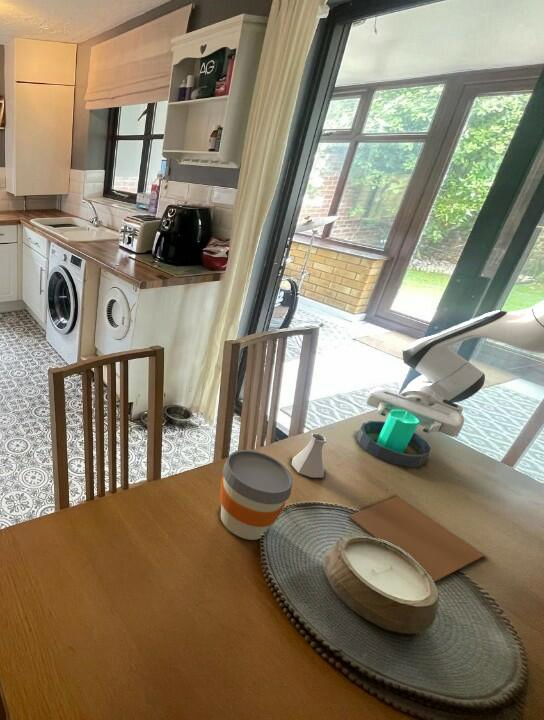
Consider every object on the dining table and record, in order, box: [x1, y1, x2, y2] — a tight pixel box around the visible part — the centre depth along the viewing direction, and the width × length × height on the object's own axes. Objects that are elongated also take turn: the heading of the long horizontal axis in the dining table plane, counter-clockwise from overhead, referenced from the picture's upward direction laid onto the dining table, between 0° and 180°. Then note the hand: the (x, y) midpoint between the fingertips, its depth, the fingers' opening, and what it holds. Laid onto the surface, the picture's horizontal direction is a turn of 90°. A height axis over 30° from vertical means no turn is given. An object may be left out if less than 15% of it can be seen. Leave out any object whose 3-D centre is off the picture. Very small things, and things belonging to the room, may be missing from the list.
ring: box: [356, 420, 432, 468], centre depth 110 cm, size 14×14×4 cm
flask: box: [291, 432, 327, 479], centre depth 102 cm, size 7×7×10 cm
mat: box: [348, 496, 485, 583], centre depth 86 cm, size 16×16×1 cm
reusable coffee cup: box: [219, 449, 294, 541], centre depth 86 cm, size 13×13×15 cm
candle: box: [376, 410, 420, 453], centre depth 108 cm, size 6×6×12 cm
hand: (404, 421), depth 109 cm, fingers open, 8 cm apart
